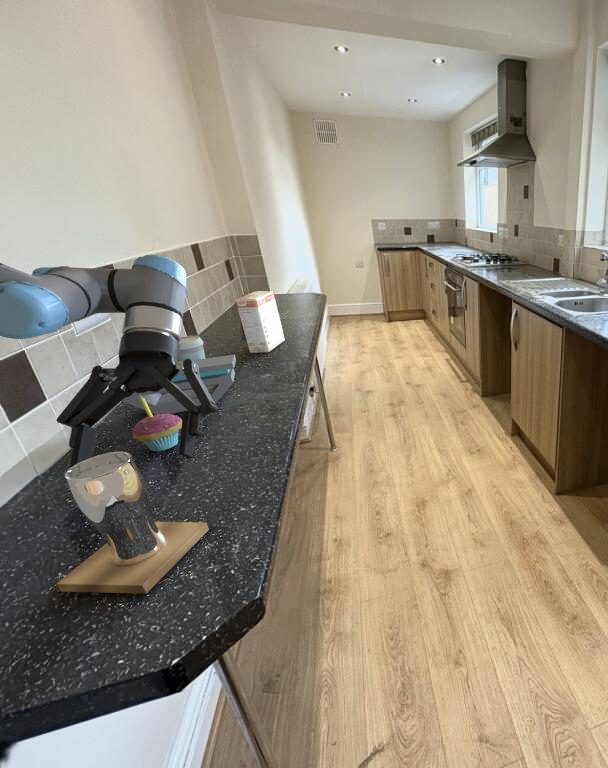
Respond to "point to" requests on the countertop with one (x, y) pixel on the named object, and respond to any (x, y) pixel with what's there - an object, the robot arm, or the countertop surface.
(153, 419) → the cupcake
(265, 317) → the coffeecake box
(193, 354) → the coffee cup
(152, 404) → the grey tapered box
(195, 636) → the countertop surface
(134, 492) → the beer glass
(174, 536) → the serving board
